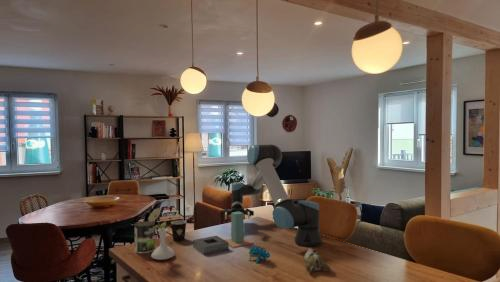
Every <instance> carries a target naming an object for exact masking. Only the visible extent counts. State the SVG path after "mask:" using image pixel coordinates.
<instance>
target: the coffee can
mask: <svg viewBox="0 0 500 282" xmlns="http://www.w3.org/2000/svg"><path fill="white" fill-rule="evenodd" d="M155 225H156V223H155V221H153V222H151V221H150V222H149V221H148V220H147V221H144V220H143V221H138V222H135V223H134V224H133V226H134V253H136V254H148V253H149V254H150V253H152V252H153V251H154V250H155V249H156V248H155V247H156V245H155V239H156V238H155V230H156V229H152V228H153V227H154V226H155Z"/></svg>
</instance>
